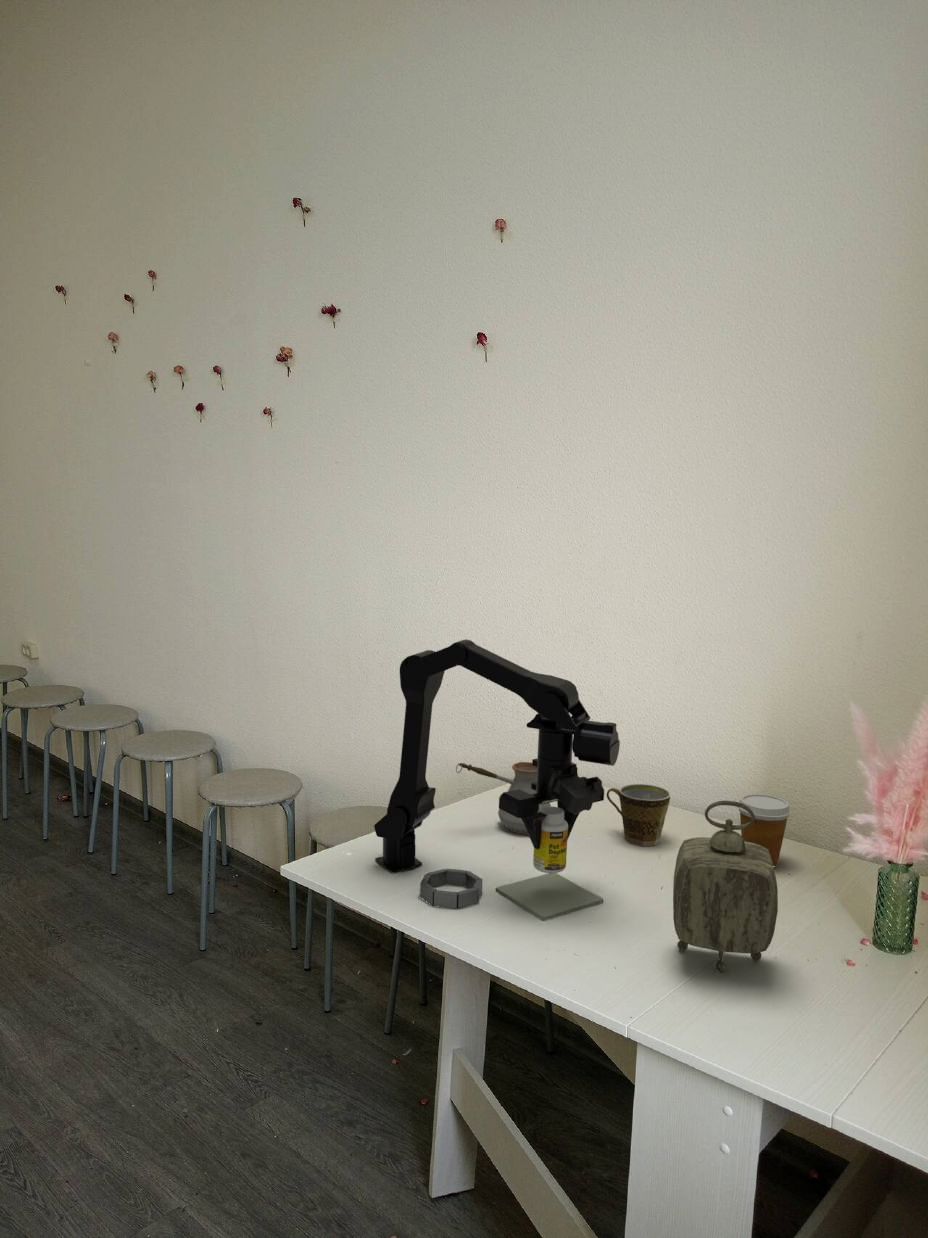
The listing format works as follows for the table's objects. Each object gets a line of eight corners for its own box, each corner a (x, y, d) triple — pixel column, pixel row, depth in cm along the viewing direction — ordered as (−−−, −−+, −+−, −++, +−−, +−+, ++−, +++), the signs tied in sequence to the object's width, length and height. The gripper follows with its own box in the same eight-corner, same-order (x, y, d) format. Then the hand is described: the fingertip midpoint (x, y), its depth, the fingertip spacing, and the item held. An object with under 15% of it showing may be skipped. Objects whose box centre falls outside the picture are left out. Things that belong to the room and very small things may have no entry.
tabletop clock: (767, 957, 141) (780, 797, 138) (773, 987, 133) (786, 818, 129) (669, 944, 145) (679, 787, 141) (668, 973, 136) (678, 807, 132)
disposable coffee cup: (731, 867, 175) (735, 805, 173) (736, 849, 184) (740, 790, 182) (784, 876, 171) (789, 813, 170) (788, 858, 180) (792, 797, 178)
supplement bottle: (546, 877, 156) (549, 818, 154) (526, 865, 160) (529, 807, 159) (572, 870, 159) (575, 812, 157) (552, 859, 163) (554, 802, 162)
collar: (410, 890, 161) (411, 877, 161) (459, 878, 166) (459, 865, 166) (442, 913, 153) (442, 899, 152) (492, 899, 158) (492, 885, 158)
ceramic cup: (674, 838, 189) (677, 790, 187) (656, 854, 180) (659, 803, 179) (614, 824, 195) (617, 778, 194) (594, 839, 187) (596, 790, 186)
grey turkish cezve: (537, 815, 200) (540, 746, 198) (563, 833, 189) (567, 761, 187) (444, 826, 192) (446, 755, 189) (466, 847, 181) (468, 771, 179)
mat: (495, 891, 162) (495, 887, 162) (553, 875, 169) (554, 872, 169) (543, 920, 151) (543, 917, 151) (603, 902, 158) (603, 899, 158)
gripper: (541, 777, 145) (536, 873, 147) (629, 760, 155) (624, 851, 158) (498, 758, 154) (494, 849, 156) (584, 744, 164) (579, 829, 167)
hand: (550, 845), depth 159 cm, fingers closed on supplement bottle, 6 cm apart
